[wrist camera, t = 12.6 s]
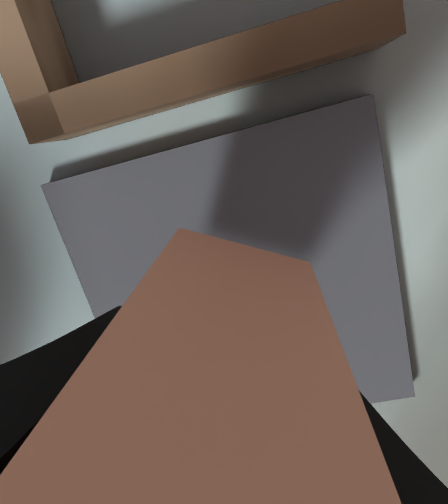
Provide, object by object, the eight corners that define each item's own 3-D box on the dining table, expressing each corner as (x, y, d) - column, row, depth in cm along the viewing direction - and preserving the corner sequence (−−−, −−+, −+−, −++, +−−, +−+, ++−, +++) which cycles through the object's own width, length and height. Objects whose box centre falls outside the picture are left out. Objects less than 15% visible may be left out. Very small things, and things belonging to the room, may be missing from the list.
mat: (48, 182, 15) (40, 185, 14) (368, 94, 13) (373, 94, 13) (147, 428, 19) (144, 438, 18) (409, 386, 17) (414, 396, 16)
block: (179, 227, 11) (-42, 533, 3) (310, 262, 12) (461, 663, 3) (153, 341, 13) (-50, 778, 4) (271, 372, 13) (301, 868, 4)
